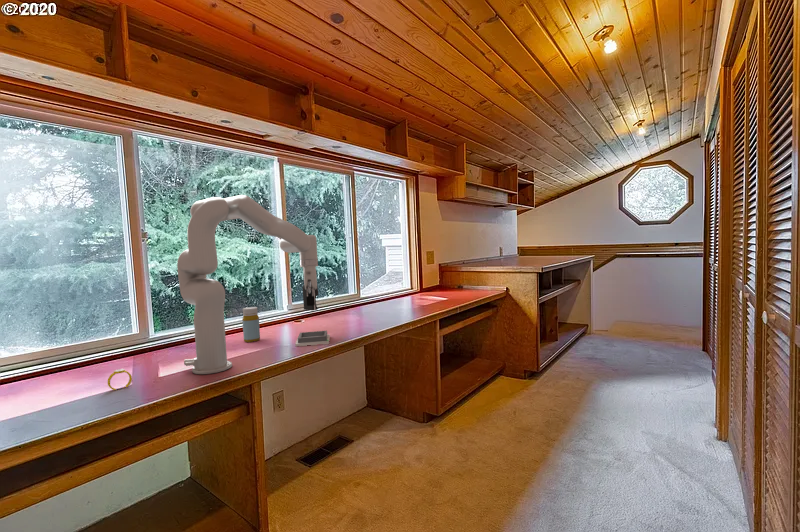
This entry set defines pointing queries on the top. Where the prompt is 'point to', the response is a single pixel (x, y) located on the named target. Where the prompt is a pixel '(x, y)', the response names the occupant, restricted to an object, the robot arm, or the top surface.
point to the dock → (312, 338)
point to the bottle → (250, 324)
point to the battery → (306, 299)
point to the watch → (117, 373)
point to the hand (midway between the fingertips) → (311, 304)
